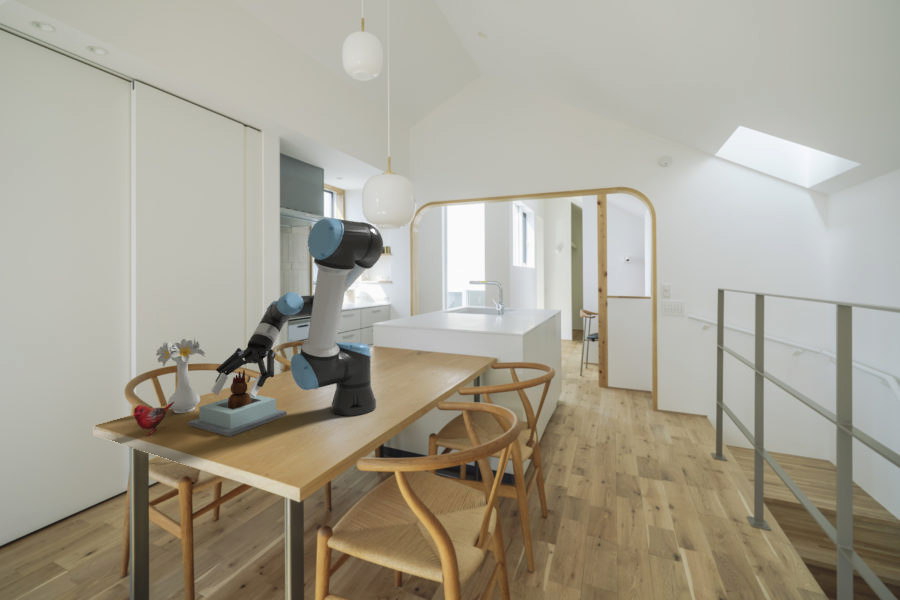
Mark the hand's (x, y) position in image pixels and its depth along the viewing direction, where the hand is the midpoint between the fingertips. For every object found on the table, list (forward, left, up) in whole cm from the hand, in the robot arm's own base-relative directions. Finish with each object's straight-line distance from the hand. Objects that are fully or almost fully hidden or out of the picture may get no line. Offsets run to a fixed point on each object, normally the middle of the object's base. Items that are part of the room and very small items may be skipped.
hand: (232, 394), depth 124 cm
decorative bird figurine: (+15, +15, -9) cm, 23 cm away
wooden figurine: (0, -2, -8) cm, 9 cm away
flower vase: (+27, +1, -9) cm, 28 cm away
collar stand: (+1, -2, -9) cm, 9 cm away
